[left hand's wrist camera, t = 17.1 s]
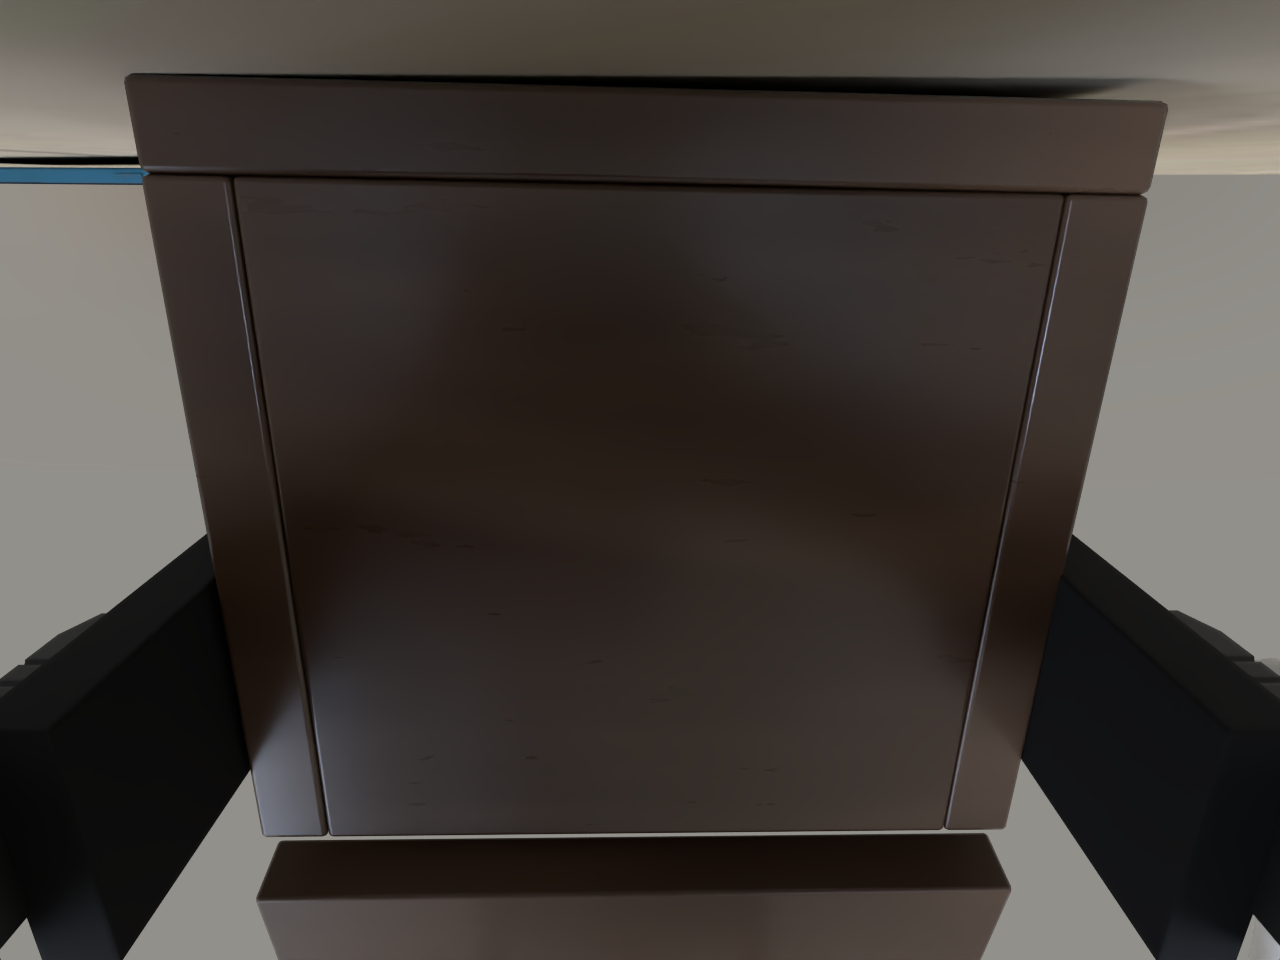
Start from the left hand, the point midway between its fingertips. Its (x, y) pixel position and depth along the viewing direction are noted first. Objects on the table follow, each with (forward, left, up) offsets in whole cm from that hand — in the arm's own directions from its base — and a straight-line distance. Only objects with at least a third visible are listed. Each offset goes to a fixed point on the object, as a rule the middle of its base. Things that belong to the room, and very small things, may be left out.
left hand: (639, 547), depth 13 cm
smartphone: (+5, -25, -7) cm, 26 cm away
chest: (+2, -1, -6) cm, 7 cm away
